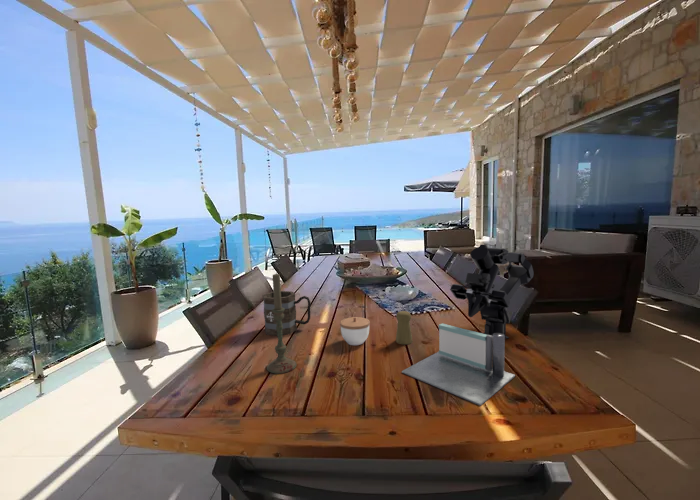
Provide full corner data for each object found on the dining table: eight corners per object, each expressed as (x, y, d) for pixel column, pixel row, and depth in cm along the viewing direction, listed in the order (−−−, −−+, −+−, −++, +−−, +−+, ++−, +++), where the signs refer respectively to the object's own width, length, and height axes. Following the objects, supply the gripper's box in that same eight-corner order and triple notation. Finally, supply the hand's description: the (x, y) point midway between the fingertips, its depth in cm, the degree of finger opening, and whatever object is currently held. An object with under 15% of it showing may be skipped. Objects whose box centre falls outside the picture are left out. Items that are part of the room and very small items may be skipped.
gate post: (515, 376, 92) (515, 334, 91) (480, 405, 79) (480, 357, 78) (440, 352, 110) (440, 317, 109) (401, 372, 97) (401, 333, 96)
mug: (260, 336, 131) (257, 299, 129) (268, 325, 144) (266, 291, 143) (309, 334, 131) (308, 297, 129) (313, 323, 144) (312, 289, 142)
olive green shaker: (412, 344, 117) (411, 314, 116) (395, 344, 118) (394, 314, 117) (412, 338, 123) (412, 309, 122) (396, 337, 124) (395, 309, 123)
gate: (493, 369, 95) (493, 335, 94) (490, 371, 94) (490, 337, 93) (442, 352, 107) (442, 322, 106) (438, 354, 106) (438, 324, 105)
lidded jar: (373, 338, 125) (372, 313, 124) (365, 349, 115) (364, 323, 114) (346, 335, 128) (345, 312, 127) (336, 346, 118) (335, 320, 117)
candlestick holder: (270, 376, 98) (264, 276, 94) (263, 364, 106) (257, 271, 102) (300, 369, 102) (295, 272, 98) (291, 358, 110) (286, 268, 107)
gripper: (452, 261, 117) (435, 298, 111) (506, 266, 103) (489, 308, 97) (464, 279, 123) (448, 315, 117) (516, 286, 109) (501, 327, 103)
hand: (469, 316), depth 108 cm, fingers closed
